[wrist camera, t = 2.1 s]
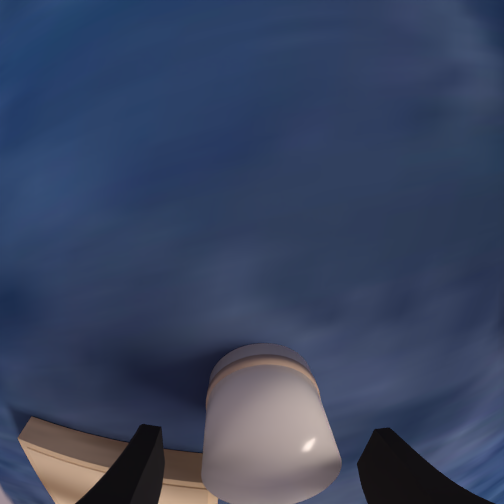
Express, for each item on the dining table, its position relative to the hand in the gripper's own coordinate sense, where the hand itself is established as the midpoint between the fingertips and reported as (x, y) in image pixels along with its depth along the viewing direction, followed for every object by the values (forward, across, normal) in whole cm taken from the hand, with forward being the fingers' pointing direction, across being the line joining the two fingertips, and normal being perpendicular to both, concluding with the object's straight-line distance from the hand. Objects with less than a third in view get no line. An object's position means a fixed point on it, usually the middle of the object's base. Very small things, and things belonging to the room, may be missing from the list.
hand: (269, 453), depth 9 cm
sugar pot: (+4, 0, 0) cm, 4 cm away
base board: (+4, +7, +11) cm, 13 cm away
